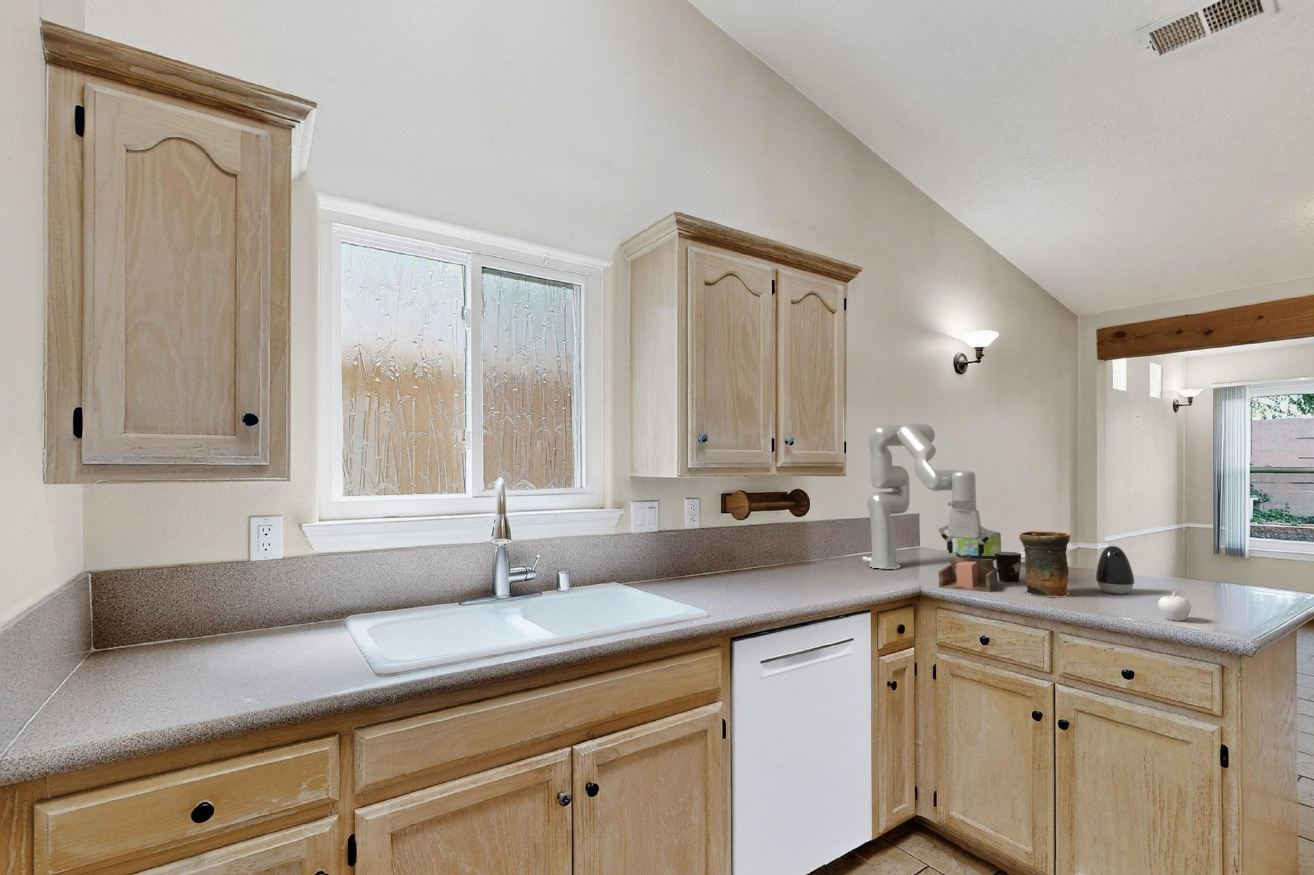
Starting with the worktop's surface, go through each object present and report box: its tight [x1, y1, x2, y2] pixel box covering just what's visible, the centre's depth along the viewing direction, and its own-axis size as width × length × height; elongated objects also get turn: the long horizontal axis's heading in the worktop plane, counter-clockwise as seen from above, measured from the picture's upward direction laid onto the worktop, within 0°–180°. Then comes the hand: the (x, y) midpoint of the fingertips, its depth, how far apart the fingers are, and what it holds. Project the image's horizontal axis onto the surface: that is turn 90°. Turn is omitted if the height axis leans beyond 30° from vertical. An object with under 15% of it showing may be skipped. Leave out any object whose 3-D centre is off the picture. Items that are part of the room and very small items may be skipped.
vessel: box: [1019, 530, 1071, 598], centre depth 209 cm, size 14×14×20 cm
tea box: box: [954, 529, 1002, 569], centre depth 263 cm, size 15×10×15 cm
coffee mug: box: [992, 551, 1022, 583], centre depth 232 cm, size 12×9×10 cm
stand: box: [938, 557, 999, 593], centre depth 224 cm, size 16×15×9 cm
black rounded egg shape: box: [1095, 545, 1135, 595], centre depth 208 cm, size 10×10×15 cm
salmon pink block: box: [956, 561, 979, 588], centre depth 224 cm, size 5×10×8 cm, turn 142°
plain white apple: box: [1157, 590, 1192, 622], centre depth 173 cm, size 7×7×8 cm
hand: (965, 554), depth 225 cm, fingers open, 9 cm apart
